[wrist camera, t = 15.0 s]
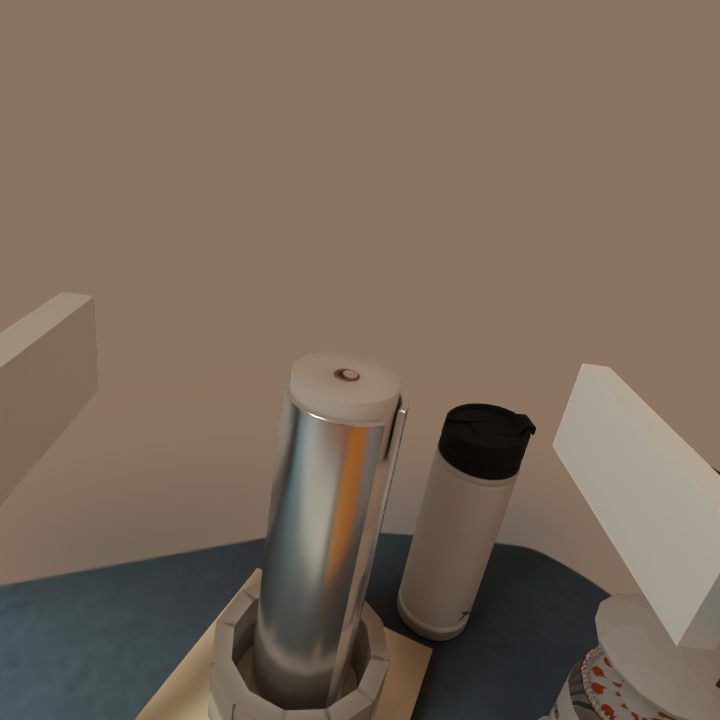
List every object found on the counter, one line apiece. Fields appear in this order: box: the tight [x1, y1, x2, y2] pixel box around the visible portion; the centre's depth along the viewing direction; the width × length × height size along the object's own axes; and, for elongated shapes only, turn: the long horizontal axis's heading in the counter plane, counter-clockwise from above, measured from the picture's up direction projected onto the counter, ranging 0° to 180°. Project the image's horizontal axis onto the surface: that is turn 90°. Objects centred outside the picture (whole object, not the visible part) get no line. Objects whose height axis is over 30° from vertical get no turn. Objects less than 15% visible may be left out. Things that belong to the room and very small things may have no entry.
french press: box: [538, 594, 720, 720], centre depth 32 cm, size 10×12×25 cm
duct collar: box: [135, 568, 433, 720], centre depth 37 cm, size 16×16×6 cm
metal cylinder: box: [249, 352, 409, 710], centre depth 33 cm, size 6×6×25 cm
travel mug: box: [397, 404, 536, 641], centre depth 44 cm, size 6×7×20 cm
